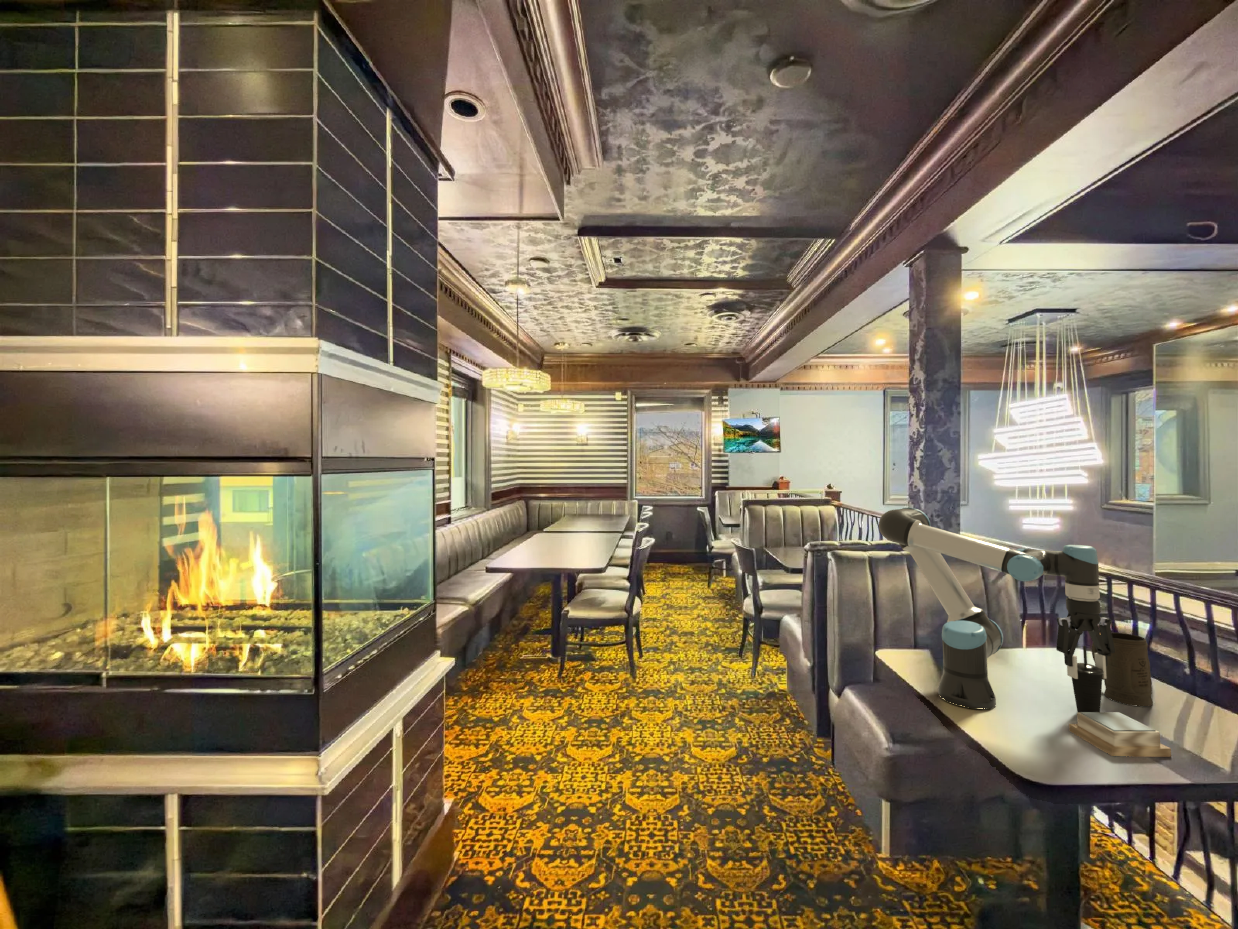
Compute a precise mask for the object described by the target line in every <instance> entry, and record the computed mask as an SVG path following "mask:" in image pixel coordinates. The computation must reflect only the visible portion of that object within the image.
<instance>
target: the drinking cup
mask: <svg viewBox="0 0 1238 929" xmlns="http://www.w3.org/2000/svg"><path fill="white" fill-rule="evenodd" d="M1082 651H1083V654H1082V655H1083V662H1077V672H1078V679H1074V678H1072V677H1071V681H1072V682H1071V683H1072V688H1073V694H1074V701H1075V706H1076V707H1075V708H1076V714H1077V713H1081V712H1101V703H1102V690H1103V689H1102V687H1103V679H1102V675H1103V674H1104V671H1103V670H1102V669H1100V668H1098V667H1096V666H1095V664H1094V665H1093V664H1091V663H1088V656H1087V646H1086V645H1083V646H1082Z"/></svg>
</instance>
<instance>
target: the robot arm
mask: <svg viewBox="0 0 1238 929" xmlns="http://www.w3.org/2000/svg"><path fill="white" fill-rule="evenodd" d="M878 530H879V532H880V534H881V535H882V537H884V538H885V539H886V540H888V541H889V542H892V543H896V544H899V546H900V547H901V549H902V550H903V551H905V552H908V553H909V554H910V555H911V557H912V559H913V560H914V561H915V564H916V565H917V567H918V568H919V570H920V572H921V573H922V575H923V576H924V578H925V580H926V581H927V584H928V585H929V586H930V587H931V589H932V591H933V593H934V595H935V596H936V598H937V599H938V601H939V602H940V604H941V606H942V607H943V609H944V610H945V613H946V614H947V615H948V617H947V620H946V622H945V623H944V624H943V625H942V629H941V639H942V642H941V643H942V661H943V662H942V663H943V664H942V665H943V673H942V675H941V678H940V681H939V684H938V686H937V687H938V688H937V690H938V694H939V695H940V696H941V698H944V699H945V700H946V701H948V702H951V703H954V704H957V705H962V706H965V707H969V708H983V709H984V708H985V710H987V709H986V708H992V709H994V708H995V707H996V706H997V697H996V695H995V692H994V690H993V687H992V685H991V683H990V680H989V674H988V658H990V657H991V656H992V655H995V654H996V653H998V651H999V650H1000V649H1001V647H1002V645H1003V642H1004V634H1003V630H1002V629H1001V627H1000V625H999V624H997V623H996V622H995V621H994V620H993V619H990V618H989V617H988V616H987V614H986V613H985V611H984V610H983V608H979V607H978V606H975V605H974V603H973V602H972V600H971V599H970V597H969V596H968V594H967V592H966V591H965V589H964V588H963V586H962V584H961V583H960V581H959V579H958V578H957V577H956V575H955V574H954V571H953V570H952V569H951V567H950V566H949V564H948V563H947V561H946V559H945V558H944V556H943V555H945V556H948V557H953V558H956V559H958V560H960V561H961V560H962V561H965V562H968V563H972V564H975V565H978V566H982V567H985V568H988V569H991V570H994V571H997V572H1001V573H1004V574H1006V575H1009V576H1011V577H1012V578H1014V579H1015V580H1017V581H1019V582H1033V581H1036V580H1037V579H1039V578H1041V577H1042V576H1045V575H1046V576H1056V577H1064V586H1065V589H1064V590H1065V596H1066V598H1065V607H1066V611H1067V616H1066V617H1063V618H1062V617H1057V618H1056V621H1057V637H1056V651H1057V652H1060V653H1063V656H1064V665H1065V666H1066V672H1067V676H1069V677H1070V678H1071V679H1072V678H1074V679H1078V672H1077V663H1078V657H1077V656H1076V655H1074V654H1075V652H1076V649H1077V646H1078V643H1079V640H1080V638H1081V635H1083V633H1084V632H1086V631H1087V633H1088V634H1089V636H1090V639H1091V641H1092V644H1093V643H1094V645H1095V647H1096V650H1097V652H1098V653H1099V654H1098V653H1094V655H1095V662H1094V666H1096V667H1098V668H1100V669H1102V670H1103V671H1104V674H1103V675H1102V678H1103V679H1106V666H1107V665H1108V658H1107V656H1111V653H1115V648H1114V643H1113V638H1112V633H1113V632H1112V629H1111V625H1112V620H1111V619H1110V618H1107V617H1103V616H1100V614H1101V611H1102V609H1101V601H1100V600H1099V599H1100V598H1101V596H1100V593H1101V592H1100V576H1099V575H1100V574H1099V572H1100V571H1099V565H1100V564H1099V560H1098V552H1097V549H1096V548H1095V547H1094V546H1091V545H1085V544H1084V545H1083V544H1082V545H1081V544H1067V545H1066V544H1065V545H1064V546H1063V549H1062V550H1047V549H1034V548H1033V549H1032V548H1016V549H1012V548H1009V547H1005V546H1001V545H998V544H994V543H991V542H988V541H987V542H986V541H983V540H980V539H977V538H973V537H969V536H966V535H963V534H958V533H955V532H953V531H952V532H951V531H948V530H944V529H941V528H938V527H934V526H931V521H930V519H929V517H928V515H927V514H926V513H925V512H923V511H922V510H920V509H918V508H914V507H913V508H912V507H903V508H897V509H896V508H895V509H891V510H888V511H886V512H884V513H883V514H882V515H881V516H880V518H879V521H878ZM1103 679H1102V680H1103ZM939 695H938V696H939ZM941 698H940V699H941ZM946 701H945V702H946ZM948 702H947V703H948ZM951 703H950V704H951ZM995 705H996V706H995ZM993 707H994V708H993ZM969 708H968V709H969Z"/></svg>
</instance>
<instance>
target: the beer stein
mask: <svg viewBox="0 0 1238 929" xmlns="http://www.w3.org/2000/svg"><path fill="white" fill-rule="evenodd" d="M1111 633H1112V638H1113V643H1114V648H1115V653H1111V656H1107V658H1108V665H1107V666H1106V679H1103V678H1102V681H1103V682H1104V687H1105V689H1104V696H1105V697H1106V698H1107V699H1109V698H1110V699H1109V700H1111V699H1112V700H1111V701H1113V700H1114V702H1115V703H1116V702H1117V703H1119V702H1121V703H1120V704H1123V703H1124V704H1123V705H1127V704H1128V706H1132V705H1137V706H1136V707H1140V706H1148V707H1151V706H1153V704H1154V702H1153V698H1152V694H1153V692H1152V691H1153V690H1152V689H1153V686H1152V684H1153V682H1152V674H1151V664H1150V659H1149V653H1148V647H1149V645H1148V641H1147V640H1146V638H1144V637H1143V636H1140V635H1135V634H1131V633H1124V632H1111ZM1090 650H1091V656H1092V660H1093V662H1094V663H1095V655H1094V653H1098V652H1097V650H1096V647H1095V645H1094V643H1093V642H1092V644H1091V649H1090ZM1098 654H1099V653H1098Z"/></svg>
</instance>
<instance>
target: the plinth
mask: <svg viewBox="0 0 1238 929" xmlns="http://www.w3.org/2000/svg"><path fill="white" fill-rule="evenodd" d="M1076 718H1077V723H1068V728H1069V729H1068V730H1069V732H1070V733H1072V734H1073V733H1074V735H1075V736H1077V737H1078V736H1079V738H1080V739H1082V740H1084V741H1086V742H1087V743H1089V744H1090V745H1092V746H1094V747H1095V748H1097V749H1099V750H1101V751H1102V752H1104V753H1106V754H1107V753H1108V755H1109V756H1110V757H1112V756H1126V757H1127V756H1129V758H1130V757H1131V756H1132V758H1135V757H1136V758H1137V757H1138V758H1139V757H1142V758H1146V757H1149V758H1151V757H1153V758H1154V757H1155V758H1160V757H1164V758H1165V757H1166V758H1167V757H1168V758H1170V757H1171V758H1172V748H1171V747H1169V746H1167V745H1164V744H1162V743H1161V735H1160V734H1161V733H1160V731H1158V730H1156V729H1154V728H1152V727H1150V726H1148V725H1146V724H1144V723H1142V722H1140V721H1138V720H1136V719H1133V718H1131V717H1129V716H1128V715H1125V714H1123V713H1121V712H1119V711H1115V712H1113V711H1112V712H1111V711H1108V712H1107V711H1106V712H1105V711H1100V712H1081V713H1077V712H1076ZM1126 757H1125V758H1126Z"/></svg>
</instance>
